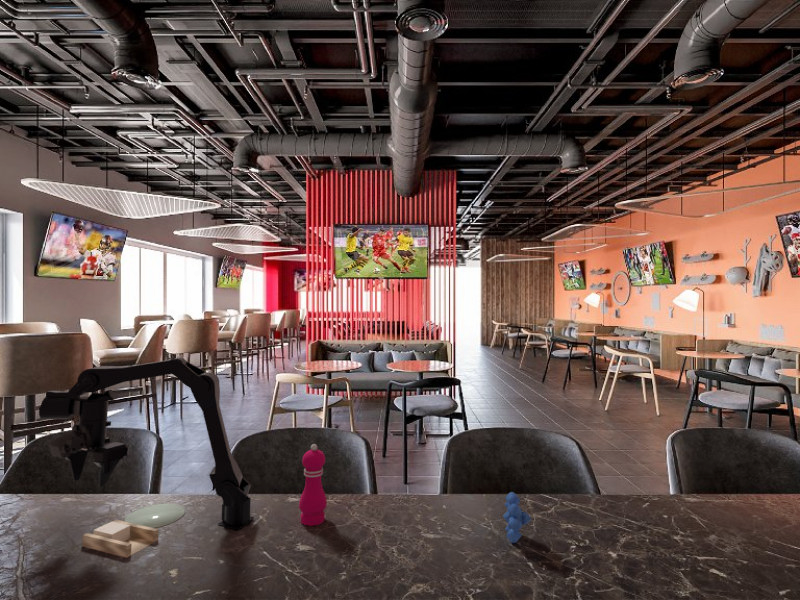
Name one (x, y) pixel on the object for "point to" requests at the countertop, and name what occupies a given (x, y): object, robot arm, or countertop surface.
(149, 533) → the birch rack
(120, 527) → the cream block
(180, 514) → the green plate
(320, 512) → the pepper mill
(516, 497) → the grapes
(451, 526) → the countertop surface
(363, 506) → the countertop surface
